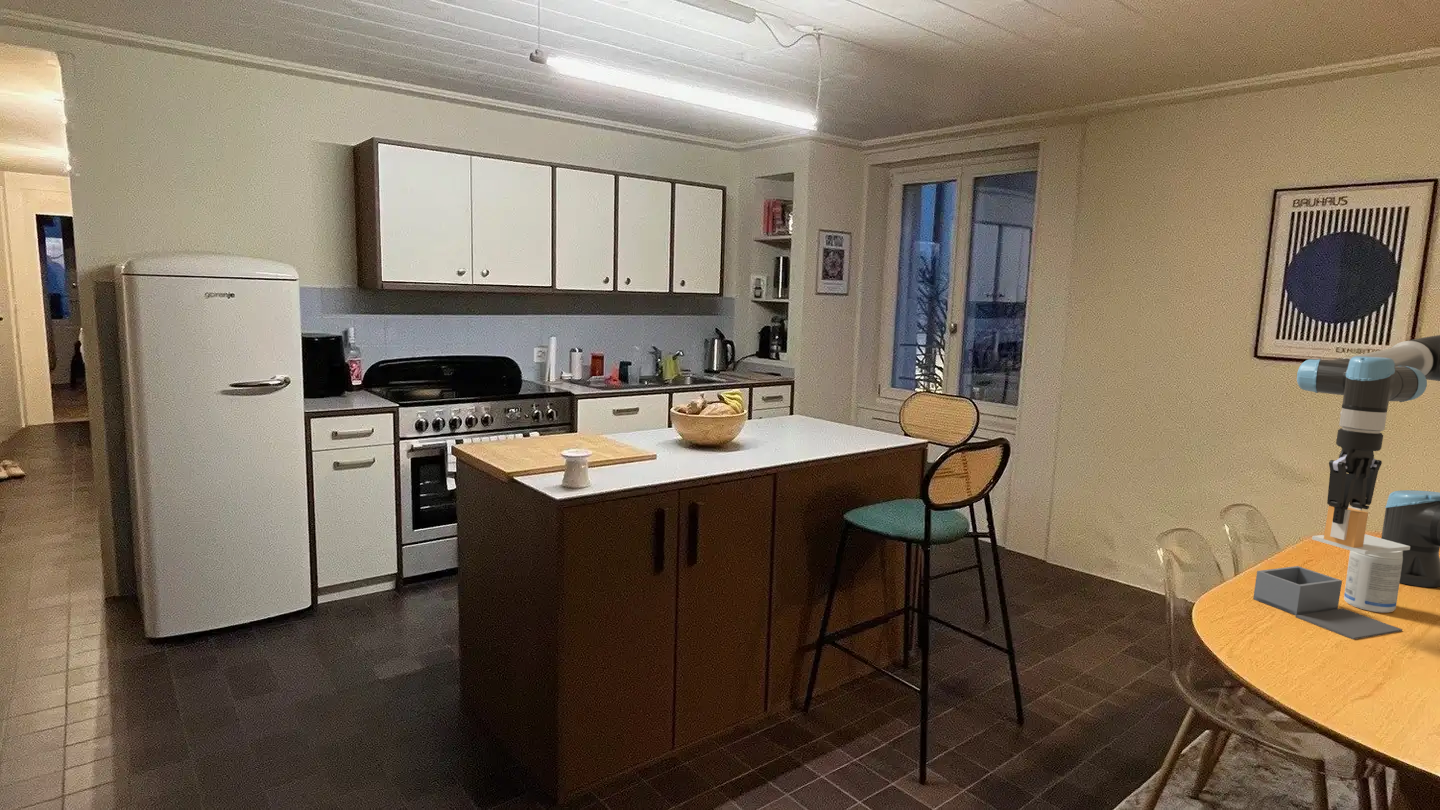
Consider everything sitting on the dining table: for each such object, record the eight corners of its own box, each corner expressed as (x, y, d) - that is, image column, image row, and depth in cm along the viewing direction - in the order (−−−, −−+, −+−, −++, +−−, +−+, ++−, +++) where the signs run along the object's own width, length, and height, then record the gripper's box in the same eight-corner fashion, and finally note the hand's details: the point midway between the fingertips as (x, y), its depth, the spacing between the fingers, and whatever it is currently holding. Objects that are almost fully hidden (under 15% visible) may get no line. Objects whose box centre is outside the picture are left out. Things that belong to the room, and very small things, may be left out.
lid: (1356, 535, 179) (1361, 499, 178) (1409, 549, 170) (1416, 512, 168) (1312, 539, 174) (1317, 502, 173) (1364, 554, 165) (1371, 516, 163)
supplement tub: (1401, 609, 185) (1411, 548, 183) (1386, 617, 179) (1396, 555, 177) (1351, 595, 193) (1360, 537, 191) (1335, 602, 187) (1344, 542, 185)
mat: (1342, 609, 183) (1343, 608, 183) (1402, 631, 172) (1402, 629, 172) (1295, 617, 177) (1295, 615, 177) (1353, 639, 166) (1353, 637, 166)
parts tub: (1293, 593, 192) (1297, 565, 191) (1337, 609, 183) (1342, 580, 182) (1253, 599, 188) (1257, 570, 187) (1296, 615, 178) (1300, 586, 177)
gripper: (1366, 426, 173) (1349, 529, 176) (1316, 427, 167) (1300, 534, 170) (1405, 432, 166) (1387, 540, 169) (1355, 433, 160) (1337, 545, 163)
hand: (1343, 537), depth 170 cm, fingers closed on lid, 3 cm apart
